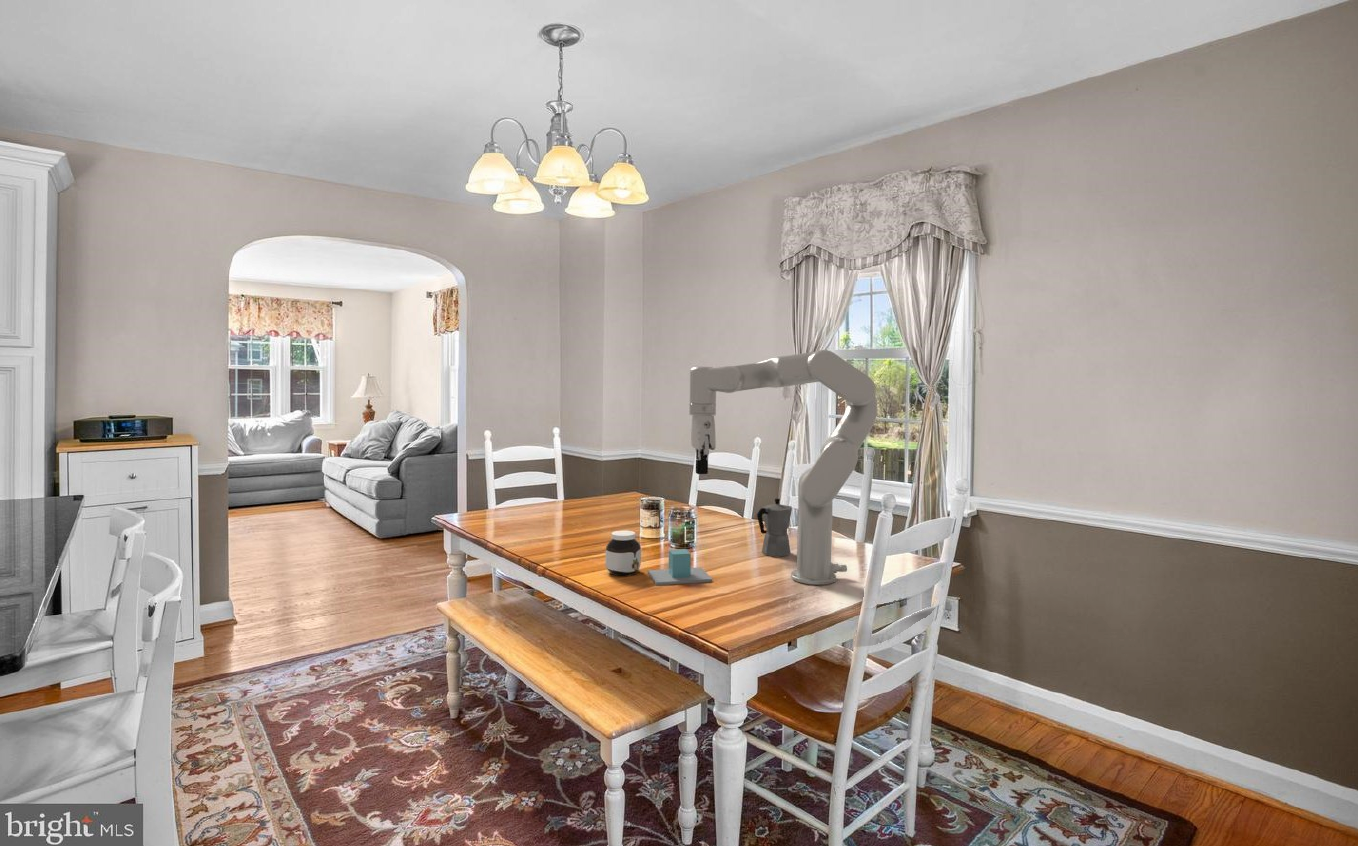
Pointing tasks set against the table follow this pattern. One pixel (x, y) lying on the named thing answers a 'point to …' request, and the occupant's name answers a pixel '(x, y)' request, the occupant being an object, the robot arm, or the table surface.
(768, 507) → the coffeepot
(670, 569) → the teal block
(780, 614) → the table surface
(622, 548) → the spread jar
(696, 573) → the stand
